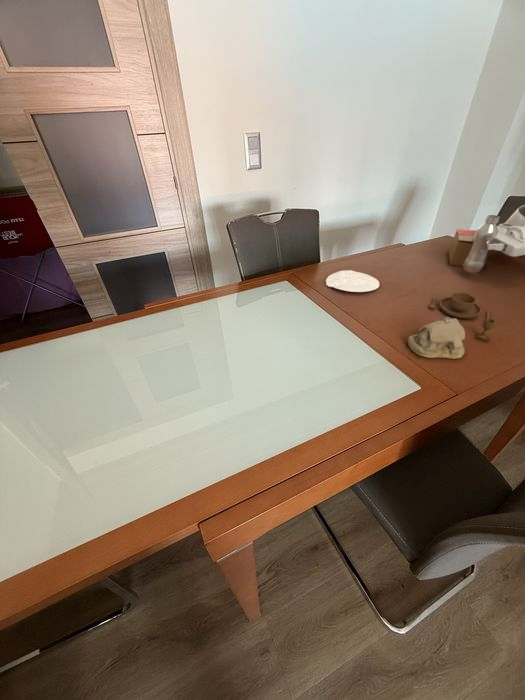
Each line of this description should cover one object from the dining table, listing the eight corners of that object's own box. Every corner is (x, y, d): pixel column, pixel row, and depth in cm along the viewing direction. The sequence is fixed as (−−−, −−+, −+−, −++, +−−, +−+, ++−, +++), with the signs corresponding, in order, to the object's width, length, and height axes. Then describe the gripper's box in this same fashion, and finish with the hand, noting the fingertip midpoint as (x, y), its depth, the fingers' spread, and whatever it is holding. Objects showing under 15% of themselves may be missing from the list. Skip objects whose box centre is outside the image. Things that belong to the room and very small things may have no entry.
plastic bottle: (463, 274, 114) (486, 219, 101) (459, 267, 119) (480, 213, 106) (482, 275, 112) (508, 219, 100) (477, 268, 117) (500, 213, 105)
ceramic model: (445, 333, 90) (458, 304, 84) (471, 357, 81) (487, 327, 75) (401, 339, 89) (410, 310, 82) (422, 364, 80) (434, 334, 74)
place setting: (490, 308, 99) (498, 292, 95) (489, 341, 86) (499, 324, 82) (432, 296, 106) (437, 281, 103) (423, 325, 93) (429, 309, 90)
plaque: (357, 300, 106) (358, 296, 105) (315, 282, 118) (315, 279, 117) (389, 283, 116) (390, 279, 115) (347, 268, 128) (348, 265, 127)
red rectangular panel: (456, 230, 129) (457, 229, 129) (488, 232, 125) (489, 231, 125) (457, 235, 124) (458, 234, 124) (490, 237, 120) (491, 236, 120)
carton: (448, 252, 135) (456, 229, 129) (479, 255, 131) (489, 231, 125) (449, 264, 125) (458, 240, 119) (482, 268, 122) (493, 243, 115)
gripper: (534, 259, 103) (496, 263, 103) (492, 238, 119) (459, 241, 118) (545, 240, 99) (505, 244, 99) (500, 222, 115) (465, 225, 114)
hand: (480, 242), depth 109 cm, fingers closed on plastic bottle, 6 cm apart
